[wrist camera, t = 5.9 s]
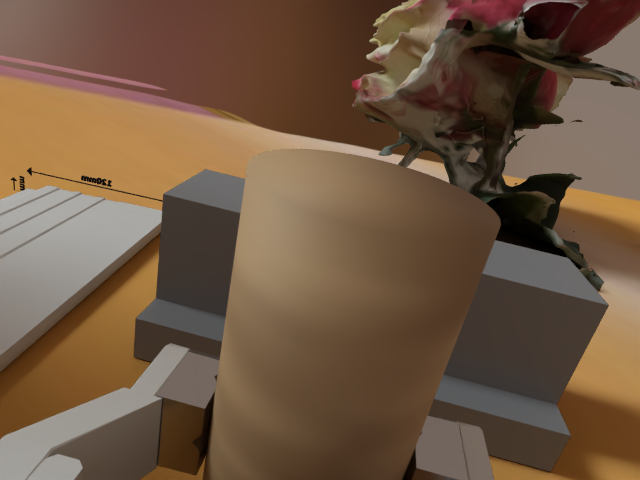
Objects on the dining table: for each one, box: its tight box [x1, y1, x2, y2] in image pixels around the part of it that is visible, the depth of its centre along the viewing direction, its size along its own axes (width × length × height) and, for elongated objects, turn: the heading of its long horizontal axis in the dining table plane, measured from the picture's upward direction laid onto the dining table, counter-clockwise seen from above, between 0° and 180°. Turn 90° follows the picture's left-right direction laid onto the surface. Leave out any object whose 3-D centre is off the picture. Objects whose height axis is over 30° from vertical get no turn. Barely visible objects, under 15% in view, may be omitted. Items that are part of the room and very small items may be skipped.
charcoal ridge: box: [134, 169, 609, 472], centre depth 22 cm, size 18×8×7 cm, turn 81°
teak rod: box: [203, 149, 501, 480], centre depth 10 cm, size 4×4×12 cm
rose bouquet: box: [352, 0, 640, 291], centre depth 44 cm, size 26×29×30 cm
